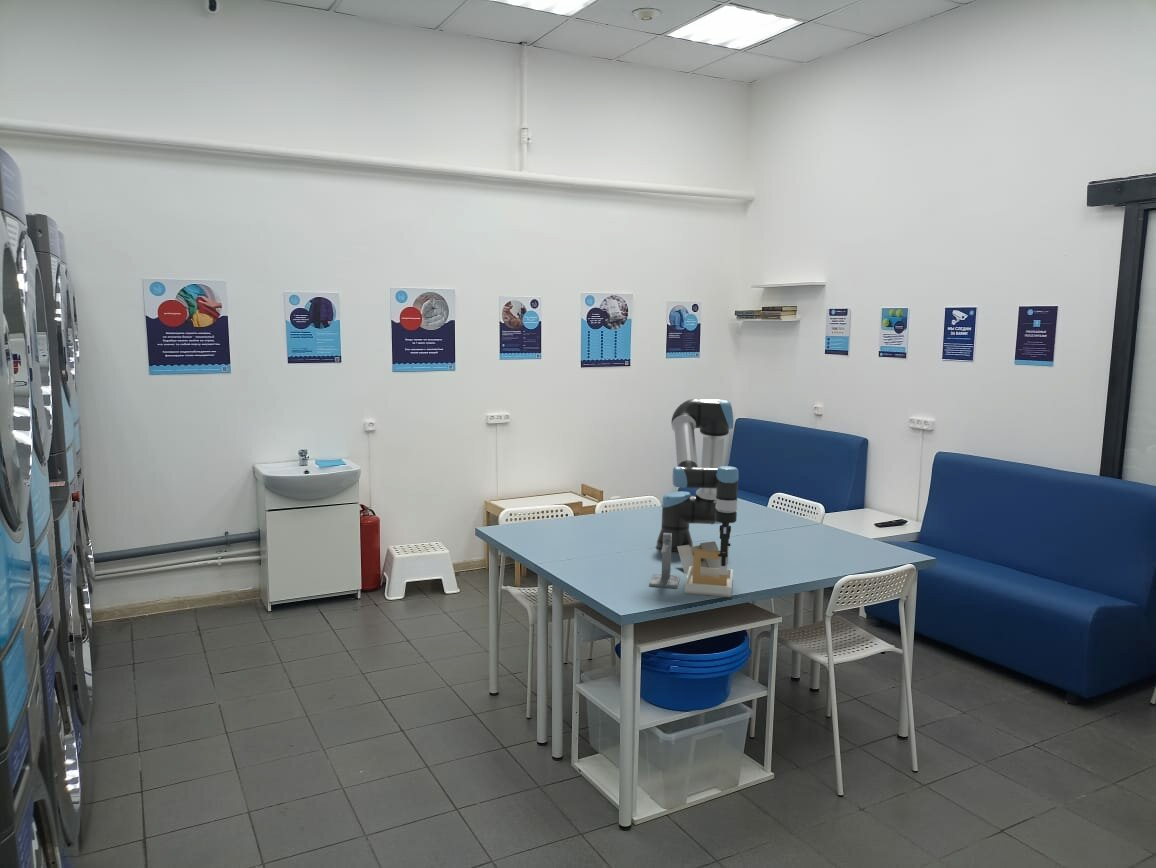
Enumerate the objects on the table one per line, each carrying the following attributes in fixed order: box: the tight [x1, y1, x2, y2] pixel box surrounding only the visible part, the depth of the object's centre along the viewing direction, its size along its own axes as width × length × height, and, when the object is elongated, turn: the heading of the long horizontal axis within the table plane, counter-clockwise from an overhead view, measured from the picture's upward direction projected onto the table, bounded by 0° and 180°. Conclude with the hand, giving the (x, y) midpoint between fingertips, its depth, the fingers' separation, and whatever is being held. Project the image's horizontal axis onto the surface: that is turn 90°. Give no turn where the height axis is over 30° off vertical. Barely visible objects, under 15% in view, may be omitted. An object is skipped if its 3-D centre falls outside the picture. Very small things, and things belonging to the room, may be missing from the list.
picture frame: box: [693, 549, 729, 586], centre depth 291 cm, size 2×12×12 cm, turn 78°
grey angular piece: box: [677, 540, 720, 574], centre depth 315 cm, size 16×9×15 cm
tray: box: [684, 566, 734, 598], centre depth 291 cm, size 22×16×4 cm
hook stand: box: [648, 533, 681, 589], centre depth 292 cm, size 16×10×17 cm, turn 168°
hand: (723, 569), depth 290 cm, fingers open, 12 cm apart
